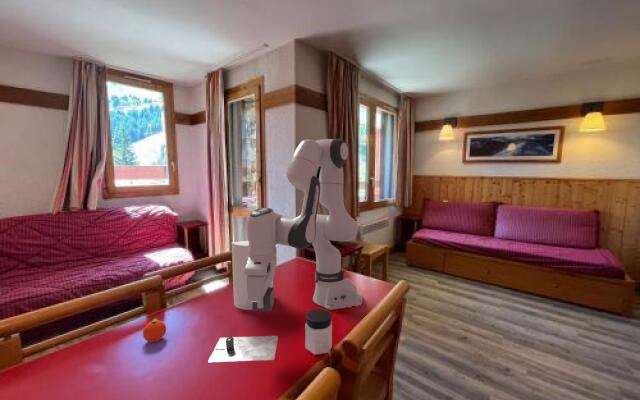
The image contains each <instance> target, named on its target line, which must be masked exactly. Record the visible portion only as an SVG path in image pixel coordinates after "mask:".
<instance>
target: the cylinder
mask: <svg viewBox="0 0 640 400" xmlns="http://www.w3.org/2000/svg"><path fill="white" fill-rule="evenodd" d="M248 248H249V242H248V240H240V241H231V259H232V260H231V261H232V285H233V288H232V289H233V305H234V307H236V308H238V309H240V310H245V311H253V307H252V302H250V301H249V299H248V293H247V275H245V267H246V264H247V261H248ZM273 281H274V278H273V279H272V281H271V283H270V287H271V288H274V283H273Z"/></svg>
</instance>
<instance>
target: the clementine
mask: <svg viewBox="0 0 640 400" xmlns="http://www.w3.org/2000/svg"><path fill="white" fill-rule="evenodd" d="M166 331H167V326H166V323H165V322H164V321H162V320H159V319H158V318H154V319H153V320H152V321H150V322H149V323H147V324H146V325H145V327H144V328H143V331H142V336H143V339H144V340H145V341H147V342H149V343H154V342H158V341H160V340H161V339H163V337H164V336H165V335H166Z"/></svg>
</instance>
